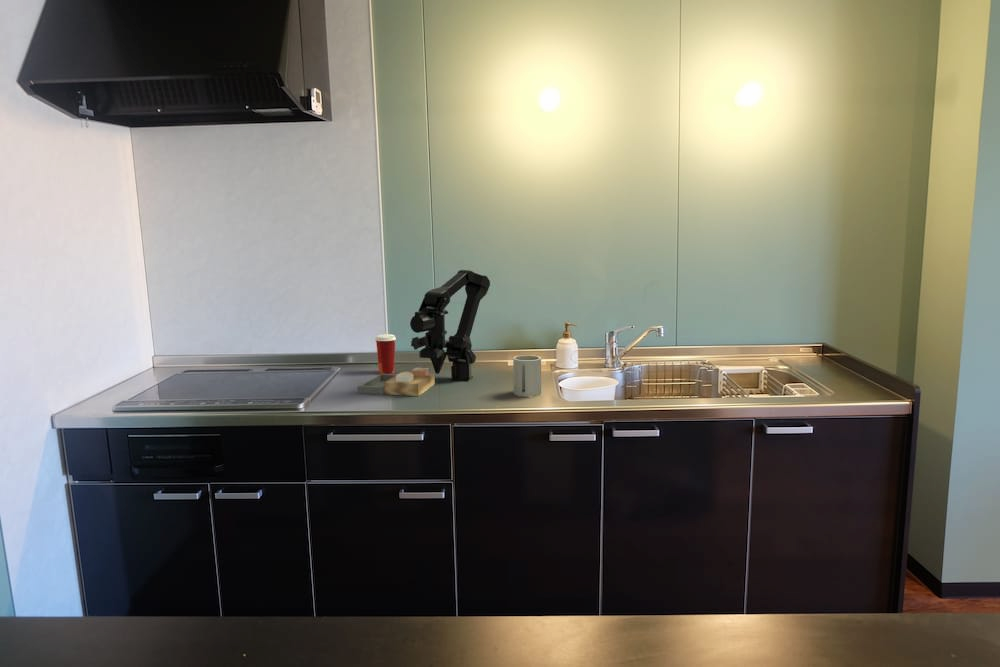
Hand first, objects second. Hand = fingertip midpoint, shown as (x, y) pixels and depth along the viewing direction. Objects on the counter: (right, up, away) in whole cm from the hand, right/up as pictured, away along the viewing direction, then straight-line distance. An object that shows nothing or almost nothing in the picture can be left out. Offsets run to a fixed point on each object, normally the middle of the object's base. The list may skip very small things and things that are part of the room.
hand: (437, 373), depth 235 cm
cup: (+30, -6, -8) cm, 32 cm away
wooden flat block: (-9, -5, -2) cm, 11 cm away
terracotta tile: (-6, -1, +2) cm, 6 cm away
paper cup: (-21, -1, +24) cm, 32 cm away
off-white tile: (-10, -2, -6) cm, 12 cm away
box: (-19, -5, +1) cm, 19 cm away
